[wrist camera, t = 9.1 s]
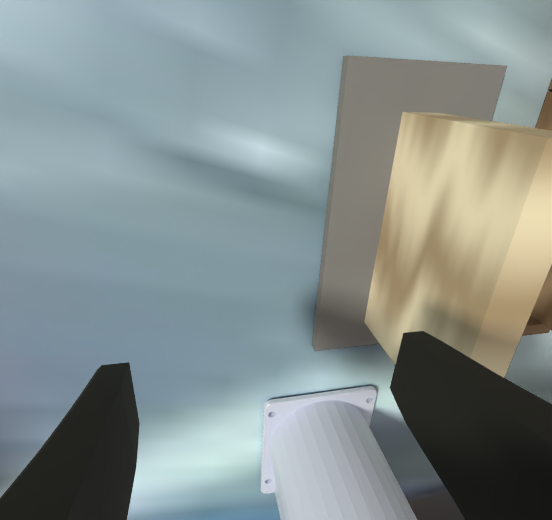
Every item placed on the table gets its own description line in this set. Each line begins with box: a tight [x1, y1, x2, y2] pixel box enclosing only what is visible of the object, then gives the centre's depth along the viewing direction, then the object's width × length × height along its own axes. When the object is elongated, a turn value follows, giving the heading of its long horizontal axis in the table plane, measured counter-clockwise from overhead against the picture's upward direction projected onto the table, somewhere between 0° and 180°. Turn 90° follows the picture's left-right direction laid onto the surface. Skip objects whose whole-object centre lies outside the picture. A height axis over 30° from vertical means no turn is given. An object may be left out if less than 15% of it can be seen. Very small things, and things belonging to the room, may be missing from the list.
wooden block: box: [364, 112, 552, 378], centre depth 17 cm, size 12×2×8 cm, turn 177°
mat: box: [312, 56, 507, 351], centre depth 20 cm, size 16×8×1 cm, turn 177°
